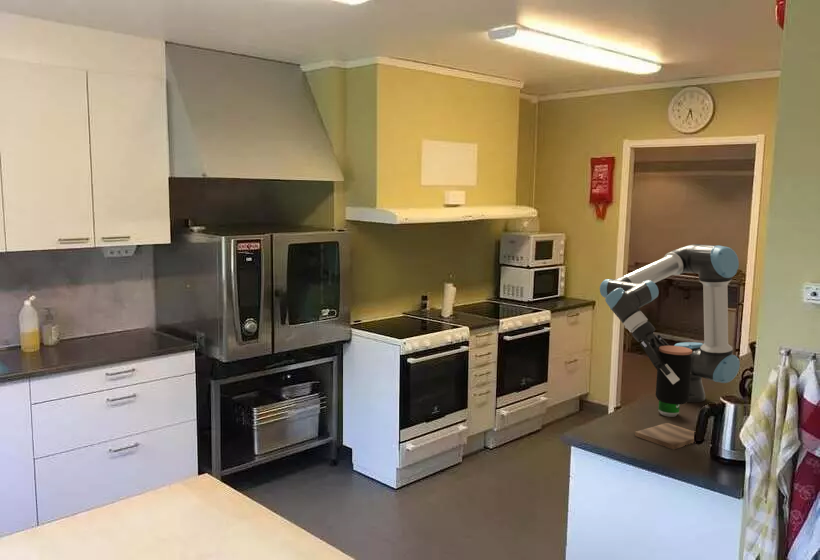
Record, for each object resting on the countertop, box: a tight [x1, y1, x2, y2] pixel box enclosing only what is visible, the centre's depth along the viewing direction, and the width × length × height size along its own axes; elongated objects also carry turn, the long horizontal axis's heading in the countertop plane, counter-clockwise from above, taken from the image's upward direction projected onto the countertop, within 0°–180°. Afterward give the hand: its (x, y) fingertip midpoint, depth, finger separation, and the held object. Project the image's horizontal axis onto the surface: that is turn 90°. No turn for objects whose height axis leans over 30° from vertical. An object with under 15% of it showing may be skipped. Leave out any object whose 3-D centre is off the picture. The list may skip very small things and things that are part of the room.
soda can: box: [657, 400, 681, 418], centre depth 256 cm, size 8×8×12 cm
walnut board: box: [634, 422, 695, 450], centre depth 231 cm, size 18×15×2 cm
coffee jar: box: [655, 345, 692, 406], centre depth 228 cm, size 11×11×18 cm
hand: (682, 378), depth 227 cm, fingers closed on coffee jar, 11 cm apart
